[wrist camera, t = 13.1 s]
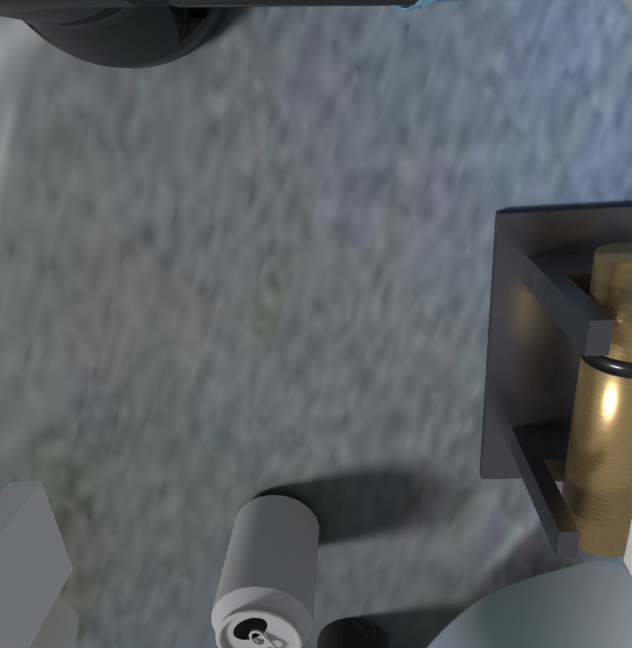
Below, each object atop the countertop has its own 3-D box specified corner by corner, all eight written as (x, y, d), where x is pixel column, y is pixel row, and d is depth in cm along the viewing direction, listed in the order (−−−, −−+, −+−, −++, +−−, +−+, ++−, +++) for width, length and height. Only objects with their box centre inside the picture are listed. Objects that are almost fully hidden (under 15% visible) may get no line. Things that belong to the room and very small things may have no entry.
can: (280, 473, 48) (260, 591, 37) (337, 526, 50) (333, 652, 39) (220, 515, 50) (183, 638, 39) (276, 563, 52) (256, 693, 41)
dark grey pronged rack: (495, 211, 38) (553, 266, 27) (697, 200, 37) (840, 252, 26) (479, 472, 47) (518, 591, 36) (641, 469, 46) (731, 591, 35)
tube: (589, 241, 34) (598, 267, 30) (686, 243, 32) (710, 271, 28) (555, 498, 42) (558, 548, 38) (631, 510, 40) (644, 564, 36)
